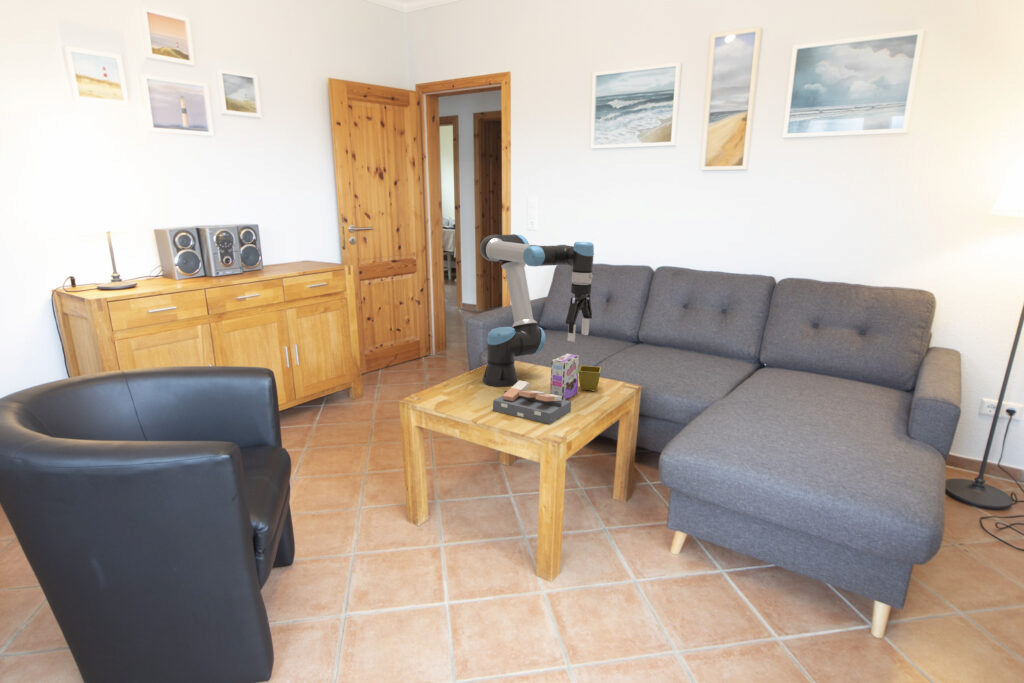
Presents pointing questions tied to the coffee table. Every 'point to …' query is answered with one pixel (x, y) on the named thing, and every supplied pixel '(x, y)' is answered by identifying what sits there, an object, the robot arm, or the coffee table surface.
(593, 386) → the flower pot
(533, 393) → the rocker middle
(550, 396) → the rocker right
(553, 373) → the candy box
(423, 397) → the coffee table surface
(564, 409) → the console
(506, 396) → the rocker left
